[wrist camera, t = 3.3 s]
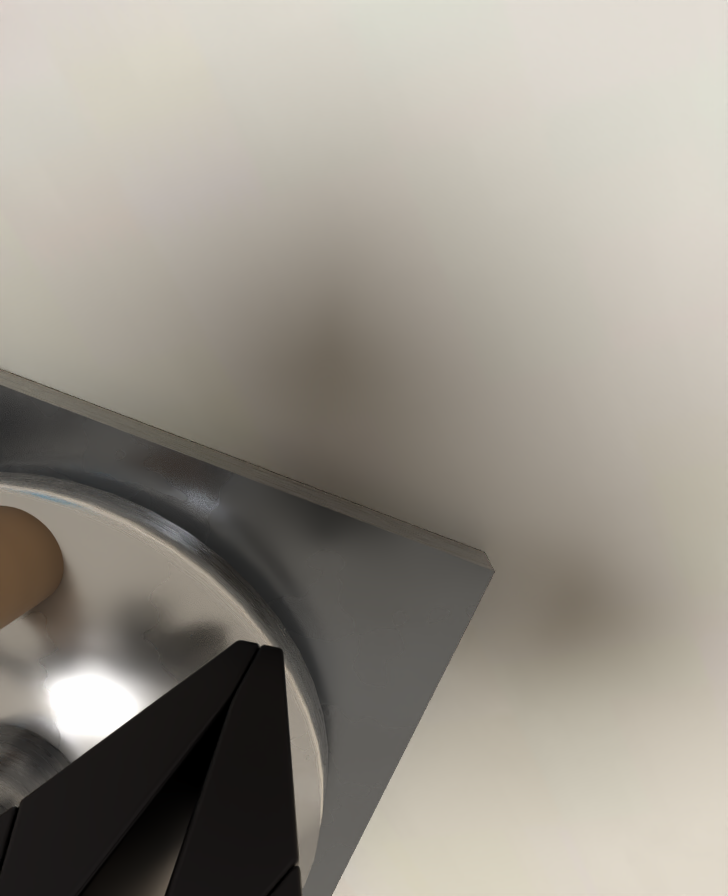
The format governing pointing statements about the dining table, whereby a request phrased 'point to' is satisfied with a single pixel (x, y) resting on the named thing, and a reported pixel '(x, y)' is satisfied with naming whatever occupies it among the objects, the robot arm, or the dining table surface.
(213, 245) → the dining table surface
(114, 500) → the metal crank wheel
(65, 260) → the dining table surface
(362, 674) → the base
